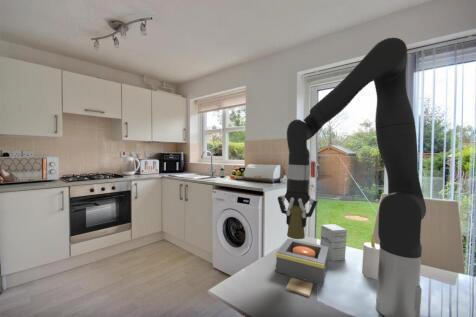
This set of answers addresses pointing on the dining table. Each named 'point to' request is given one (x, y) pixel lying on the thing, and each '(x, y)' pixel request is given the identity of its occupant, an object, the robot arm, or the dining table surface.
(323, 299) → the dining table surface
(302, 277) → the box
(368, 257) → the candle
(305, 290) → the cork coaster
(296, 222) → the olive brown knobbed peg
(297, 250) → the button
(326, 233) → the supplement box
